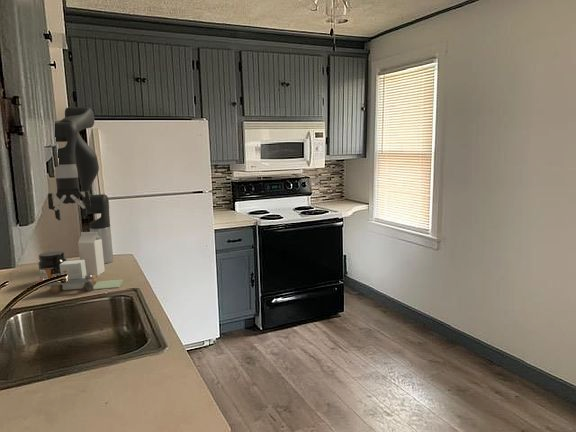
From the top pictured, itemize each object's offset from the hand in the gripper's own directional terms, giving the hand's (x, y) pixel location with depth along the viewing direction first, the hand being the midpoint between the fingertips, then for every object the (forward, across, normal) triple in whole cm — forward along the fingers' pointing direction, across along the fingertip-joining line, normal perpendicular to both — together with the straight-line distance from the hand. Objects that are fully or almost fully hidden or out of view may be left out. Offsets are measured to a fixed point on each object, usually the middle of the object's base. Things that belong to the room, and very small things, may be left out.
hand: (71, 219), depth 164 cm
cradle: (+28, +2, -5) cm, 29 cm away
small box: (+28, +2, -5) cm, 29 cm away
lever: (+25, +4, +2) cm, 25 cm away
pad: (+28, -10, -2) cm, 30 cm away
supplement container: (+28, +12, -18) cm, 36 cm away
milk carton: (+28, -3, -22) cm, 36 cm away
